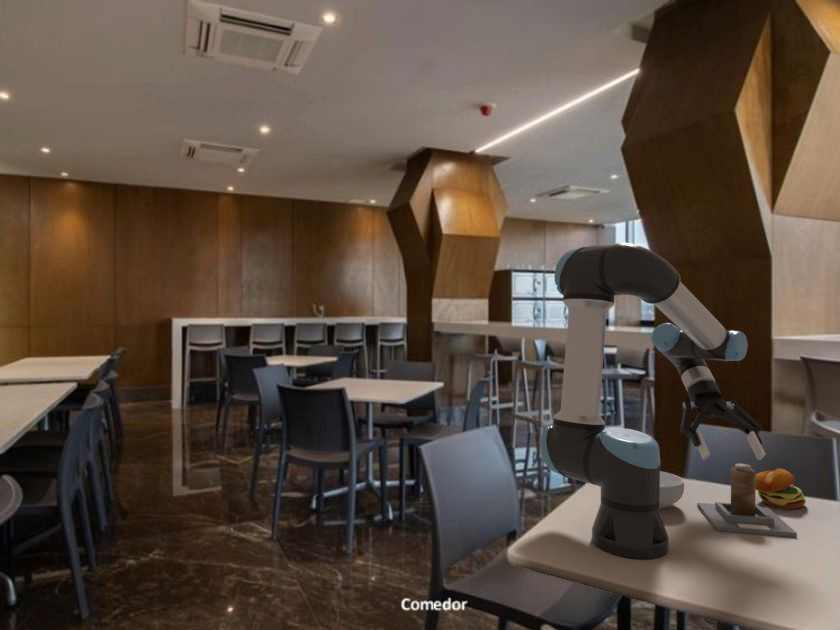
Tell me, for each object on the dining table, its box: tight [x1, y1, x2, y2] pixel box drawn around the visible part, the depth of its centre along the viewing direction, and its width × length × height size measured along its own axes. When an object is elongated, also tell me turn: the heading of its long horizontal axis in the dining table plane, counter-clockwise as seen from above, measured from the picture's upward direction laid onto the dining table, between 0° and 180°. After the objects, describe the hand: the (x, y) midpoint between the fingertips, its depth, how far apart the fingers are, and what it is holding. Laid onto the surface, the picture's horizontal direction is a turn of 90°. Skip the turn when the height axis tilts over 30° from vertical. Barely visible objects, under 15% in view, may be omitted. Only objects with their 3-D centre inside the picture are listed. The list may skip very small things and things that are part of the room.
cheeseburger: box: [756, 468, 806, 510], centre depth 141 cm, size 10×11×10 cm
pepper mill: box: [730, 463, 757, 516], centre depth 130 cm, size 5×5×12 cm
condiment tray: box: [697, 501, 798, 538], centre depth 130 cm, size 16×16×2 cm
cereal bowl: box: [659, 470, 685, 510], centre depth 141 cm, size 17×17×7 cm
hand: (734, 457), depth 134 cm, fingers open, 13 cm apart
